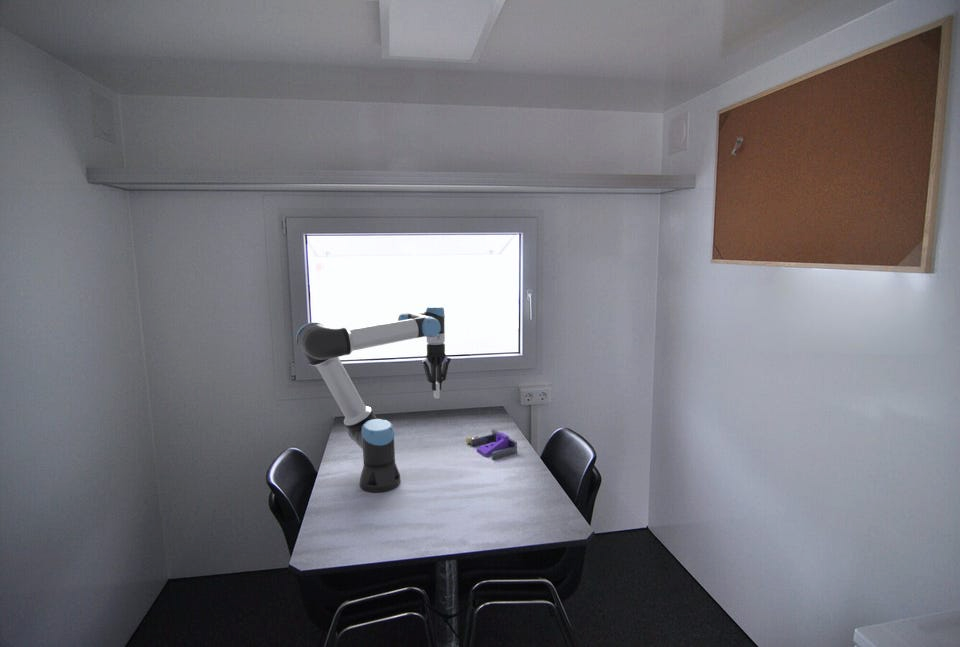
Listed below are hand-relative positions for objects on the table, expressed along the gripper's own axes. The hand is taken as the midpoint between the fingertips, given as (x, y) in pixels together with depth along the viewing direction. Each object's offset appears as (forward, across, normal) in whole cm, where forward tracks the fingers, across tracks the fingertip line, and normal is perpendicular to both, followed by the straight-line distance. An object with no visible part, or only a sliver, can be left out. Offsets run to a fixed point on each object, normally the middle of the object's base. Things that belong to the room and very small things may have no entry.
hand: (436, 397), depth 217 cm
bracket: (+25, +21, -11) cm, 34 cm away
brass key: (+24, +19, +2) cm, 31 cm away
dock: (+24, +22, -10) cm, 34 cm away
